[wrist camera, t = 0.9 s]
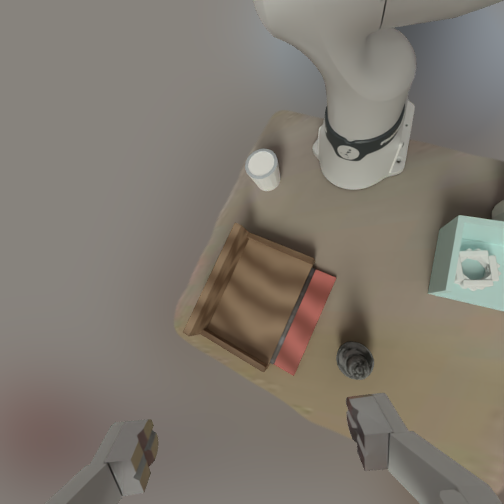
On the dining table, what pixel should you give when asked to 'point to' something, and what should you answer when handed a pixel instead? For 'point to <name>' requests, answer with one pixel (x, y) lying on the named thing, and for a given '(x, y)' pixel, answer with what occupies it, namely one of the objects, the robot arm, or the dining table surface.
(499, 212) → the paper towel roll
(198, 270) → the dining table surface
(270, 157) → the white tapered cup
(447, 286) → the l-shaped corner panel
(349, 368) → the stone chess piece
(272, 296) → the tray
